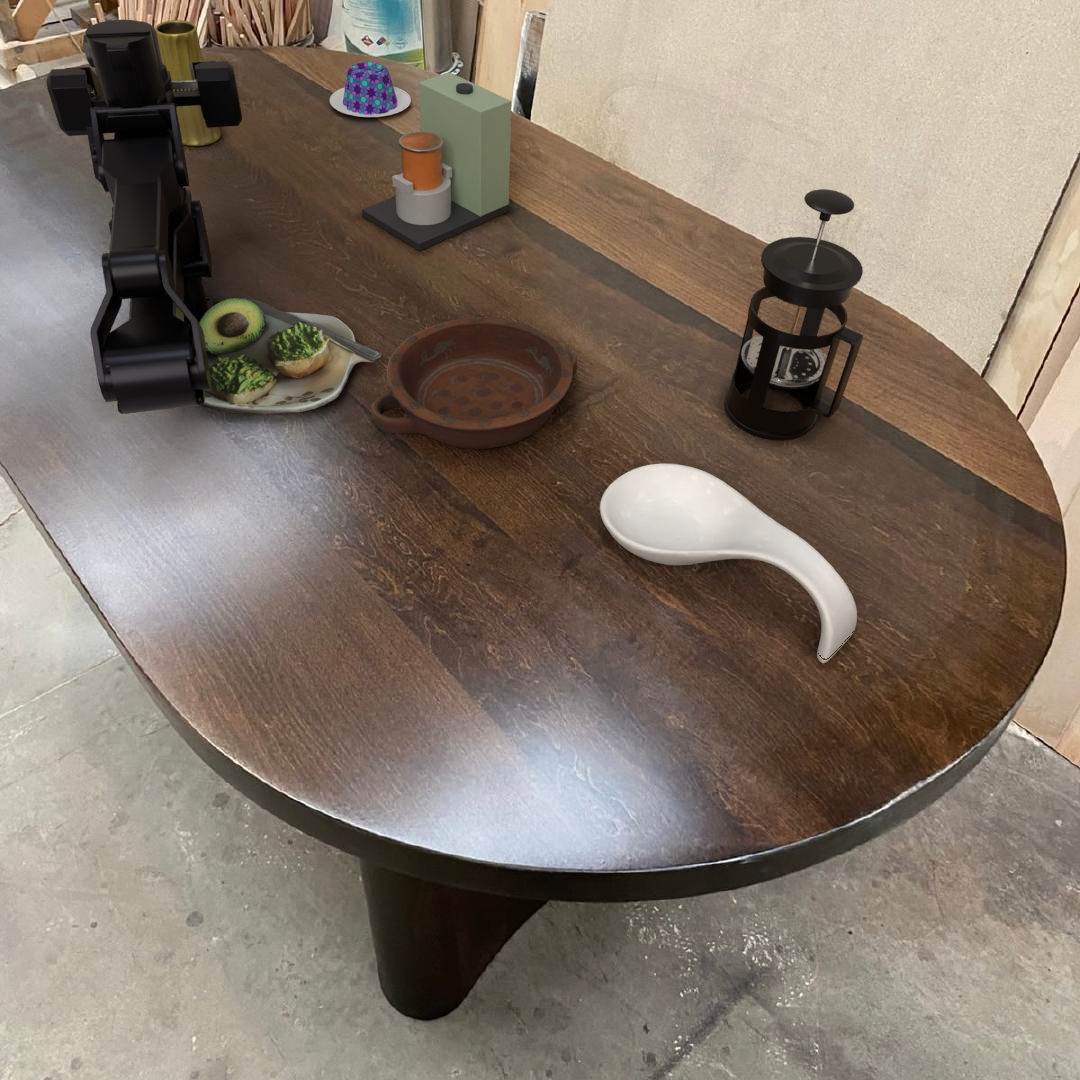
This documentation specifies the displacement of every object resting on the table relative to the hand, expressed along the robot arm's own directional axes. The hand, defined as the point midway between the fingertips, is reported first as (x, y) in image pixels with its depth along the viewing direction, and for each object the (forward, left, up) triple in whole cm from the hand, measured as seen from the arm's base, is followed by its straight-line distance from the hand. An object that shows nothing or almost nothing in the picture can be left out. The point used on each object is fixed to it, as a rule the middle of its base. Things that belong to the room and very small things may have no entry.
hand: (149, 69), depth 108 cm
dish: (-46, -28, -17) cm, 56 cm away
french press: (-53, -57, -17) cm, 80 cm away
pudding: (+27, -28, -17) cm, 42 cm away
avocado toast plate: (-35, -8, -17) cm, 40 cm away
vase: (+20, -3, -17) cm, 26 cm away
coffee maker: (-7, -31, -17) cm, 36 cm away
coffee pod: (-8, -29, -12) cm, 32 cm away
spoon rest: (-72, -43, -17) cm, 86 cm away
